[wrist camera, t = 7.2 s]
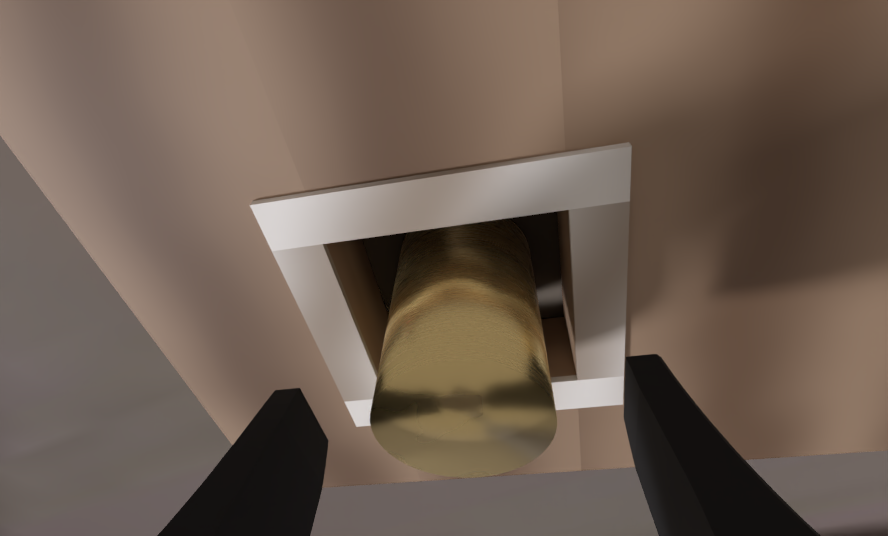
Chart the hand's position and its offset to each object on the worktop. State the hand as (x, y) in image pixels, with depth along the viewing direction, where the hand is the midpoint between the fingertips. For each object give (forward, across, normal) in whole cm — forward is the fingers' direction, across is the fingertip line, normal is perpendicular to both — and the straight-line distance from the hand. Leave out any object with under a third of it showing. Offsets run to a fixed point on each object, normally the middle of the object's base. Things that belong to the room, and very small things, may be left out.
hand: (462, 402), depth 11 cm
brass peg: (+5, 0, 0) cm, 5 cm away
